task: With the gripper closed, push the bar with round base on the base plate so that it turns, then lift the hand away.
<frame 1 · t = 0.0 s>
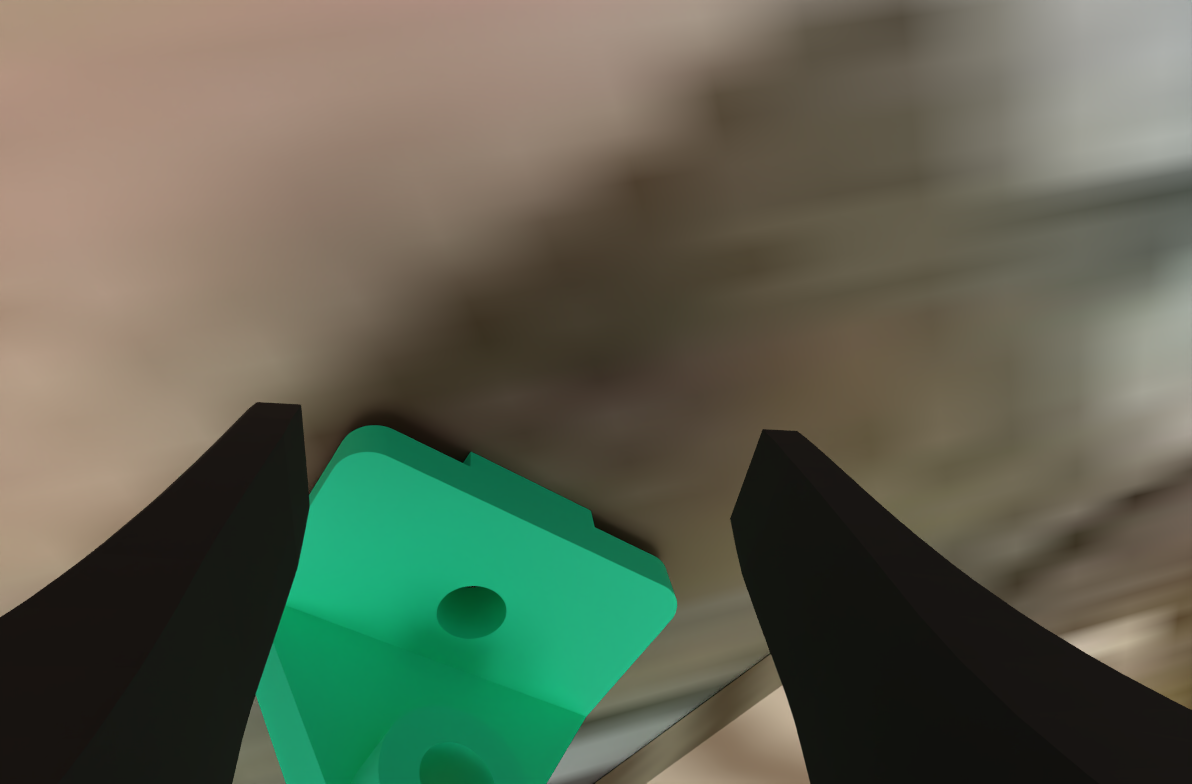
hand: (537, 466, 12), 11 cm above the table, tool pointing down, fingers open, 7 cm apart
camera mount: (472, 556, 26), on the table
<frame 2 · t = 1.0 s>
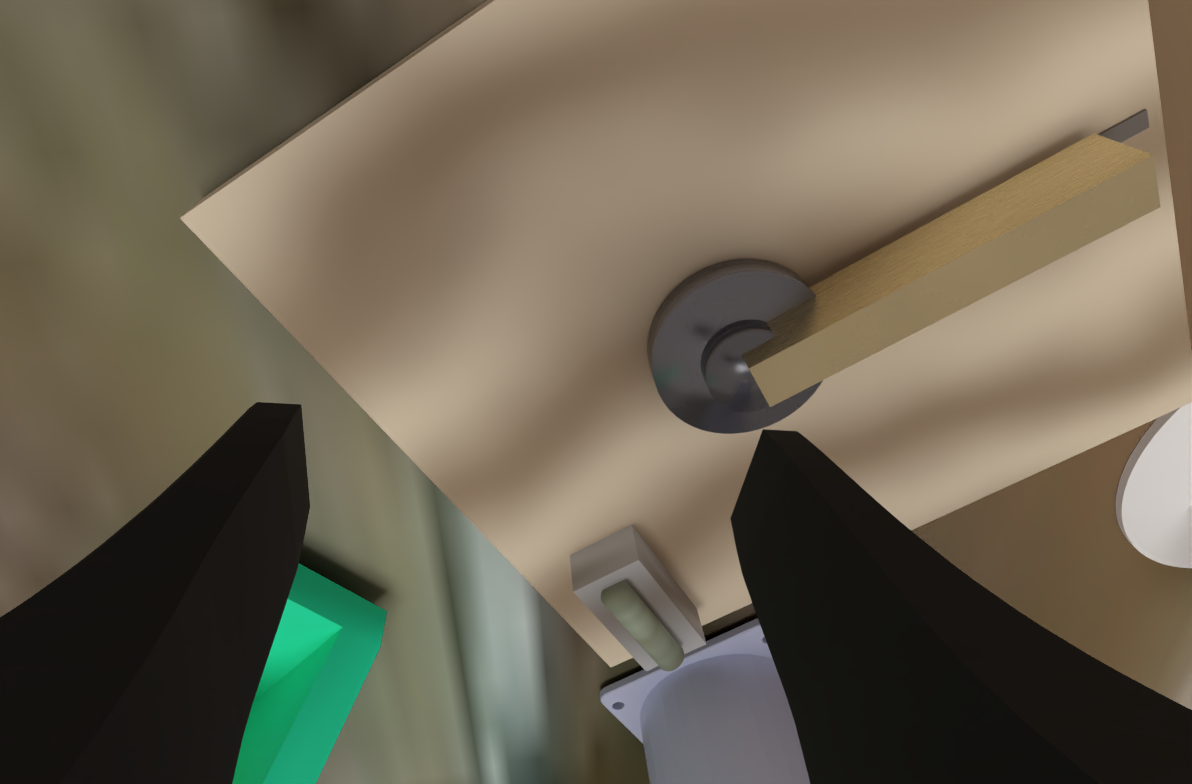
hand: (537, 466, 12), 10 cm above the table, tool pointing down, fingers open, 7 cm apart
base plate: (750, 299, 22), on the table
bar with round base: (876, 294, 19), point 3 cm above the table, hinge at 0.0°
camera mount: (207, 623, 28), on the table
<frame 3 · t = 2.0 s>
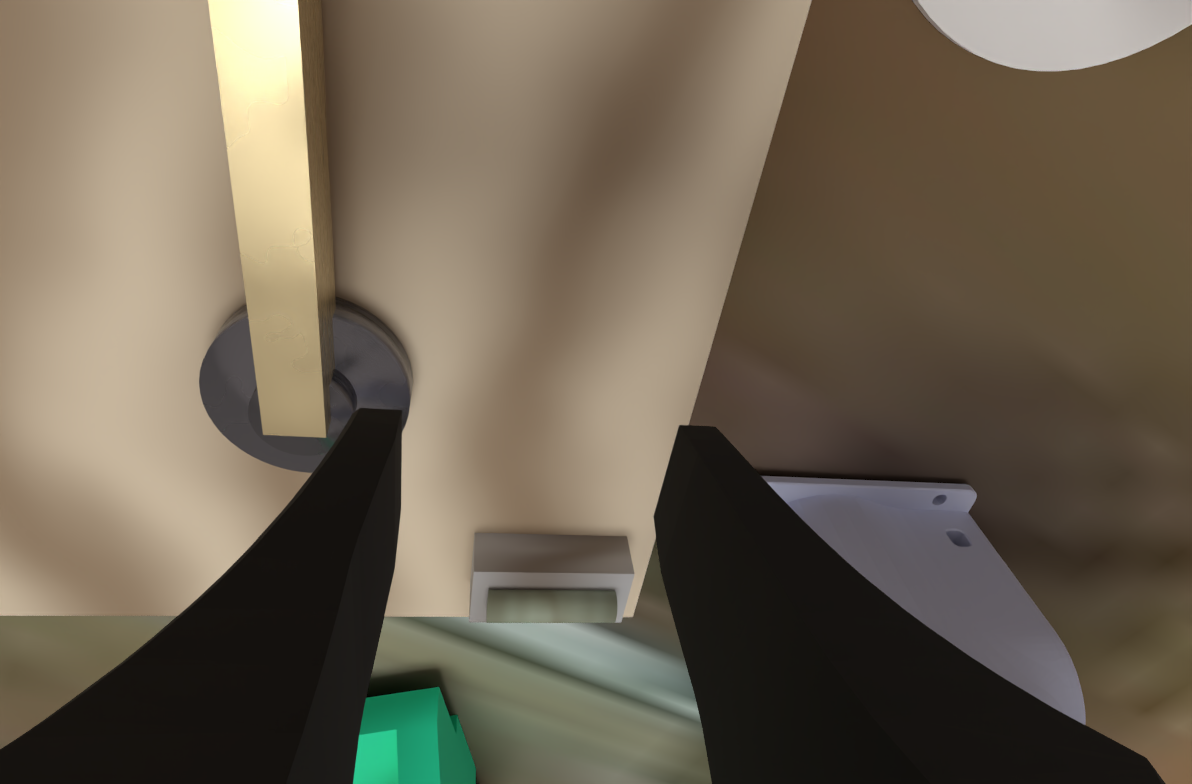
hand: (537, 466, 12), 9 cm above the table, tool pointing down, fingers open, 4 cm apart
base plate: (324, 312, 20), on the table
bar with round base: (294, 267, 16), point 3 cm above the table, hinge at 0.0°
camera mount: (383, 748, 34), on the table
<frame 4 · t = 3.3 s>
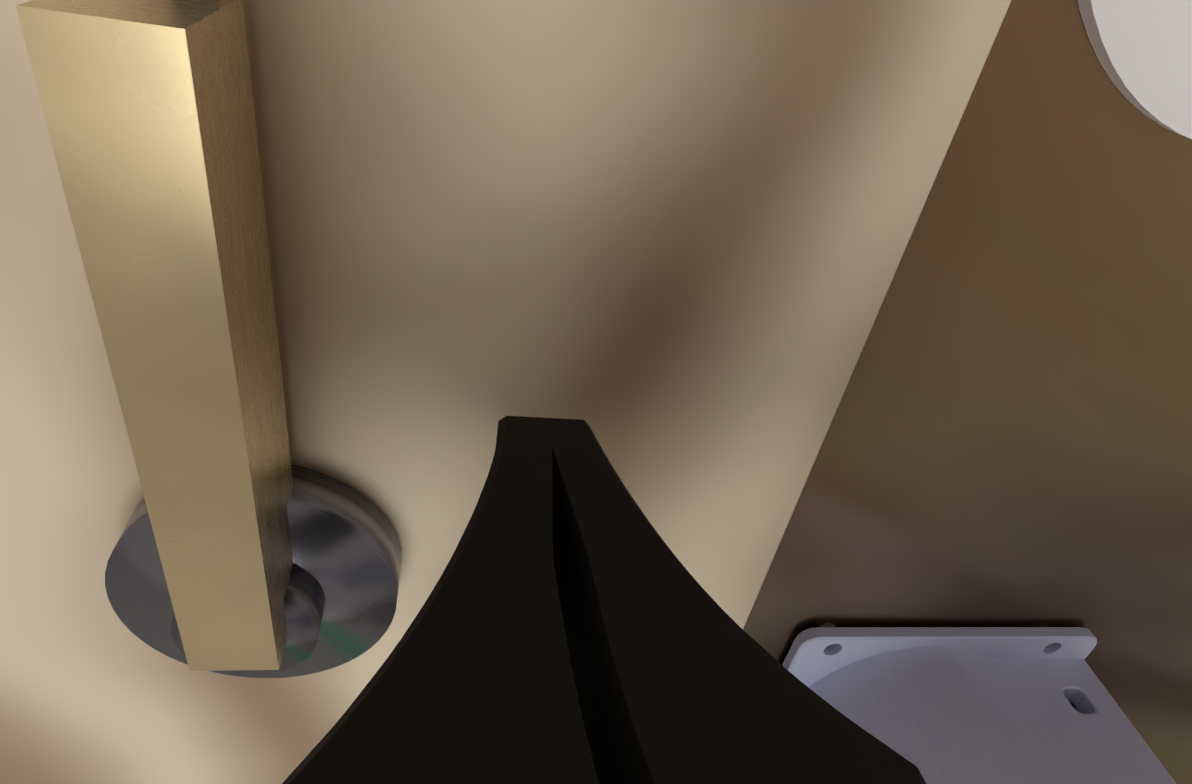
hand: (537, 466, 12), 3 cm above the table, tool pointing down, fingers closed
base plate: (284, 464, 15), on the table
bar with round base: (227, 451, 11), point 3 cm above the table, hinge at 0.0°
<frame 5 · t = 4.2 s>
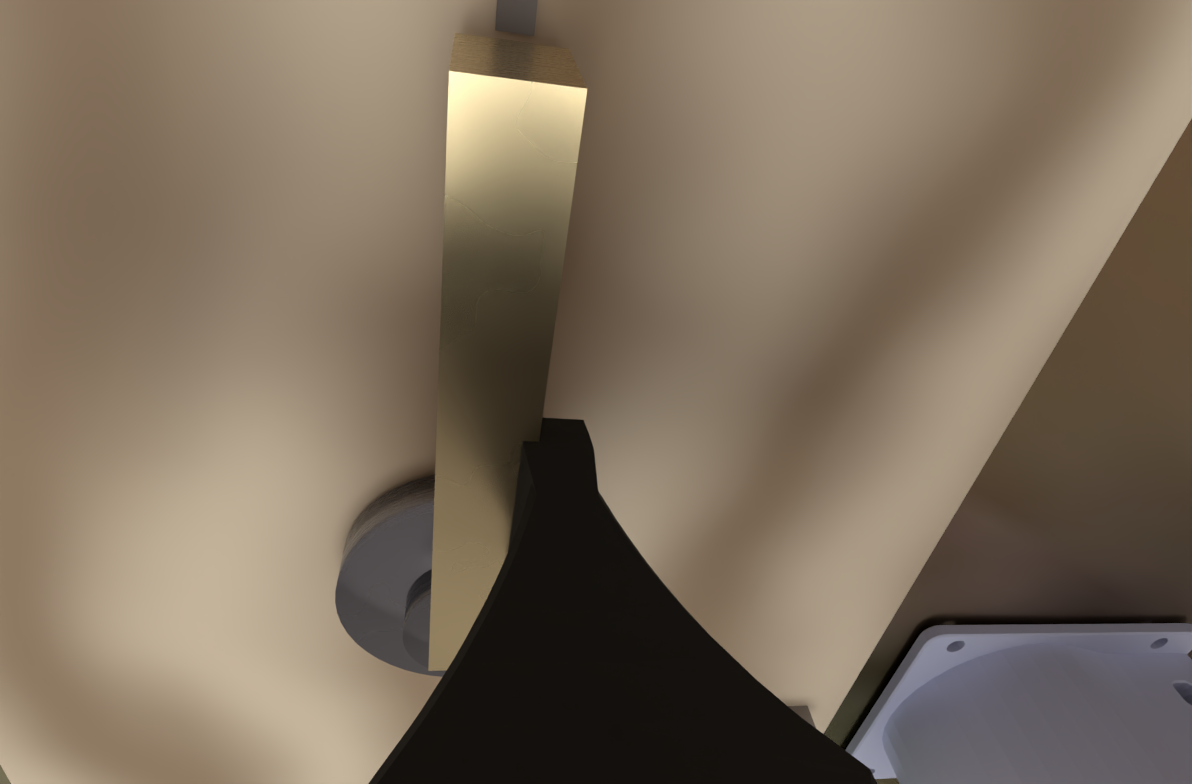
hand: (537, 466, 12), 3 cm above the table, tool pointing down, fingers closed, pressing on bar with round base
base plate: (474, 473, 16), on the table
bar with round base: (481, 464, 12), point 3 cm above the table, hinge at 0.3°, touching gripper
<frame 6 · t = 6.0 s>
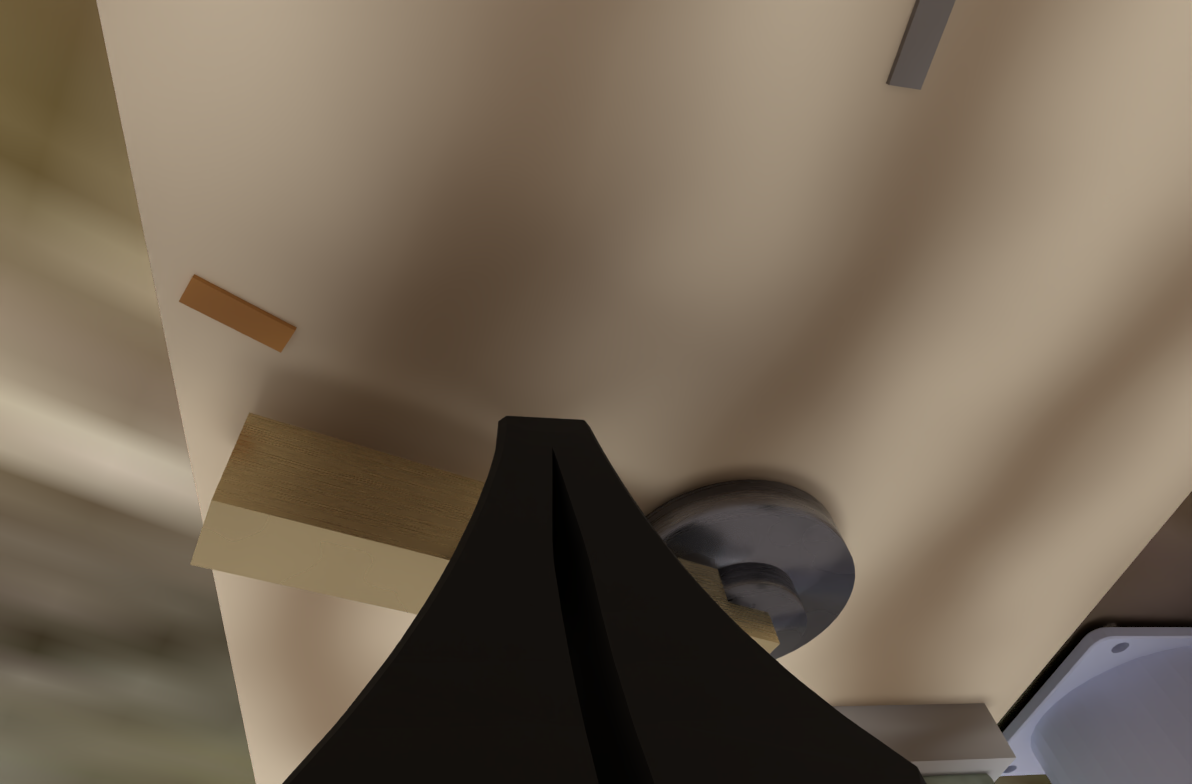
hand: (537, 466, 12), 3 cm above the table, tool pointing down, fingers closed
base plate: (717, 480, 17), on the table
bar with round base: (579, 568, 14), point 3 cm above the table, hinge at 70.9°
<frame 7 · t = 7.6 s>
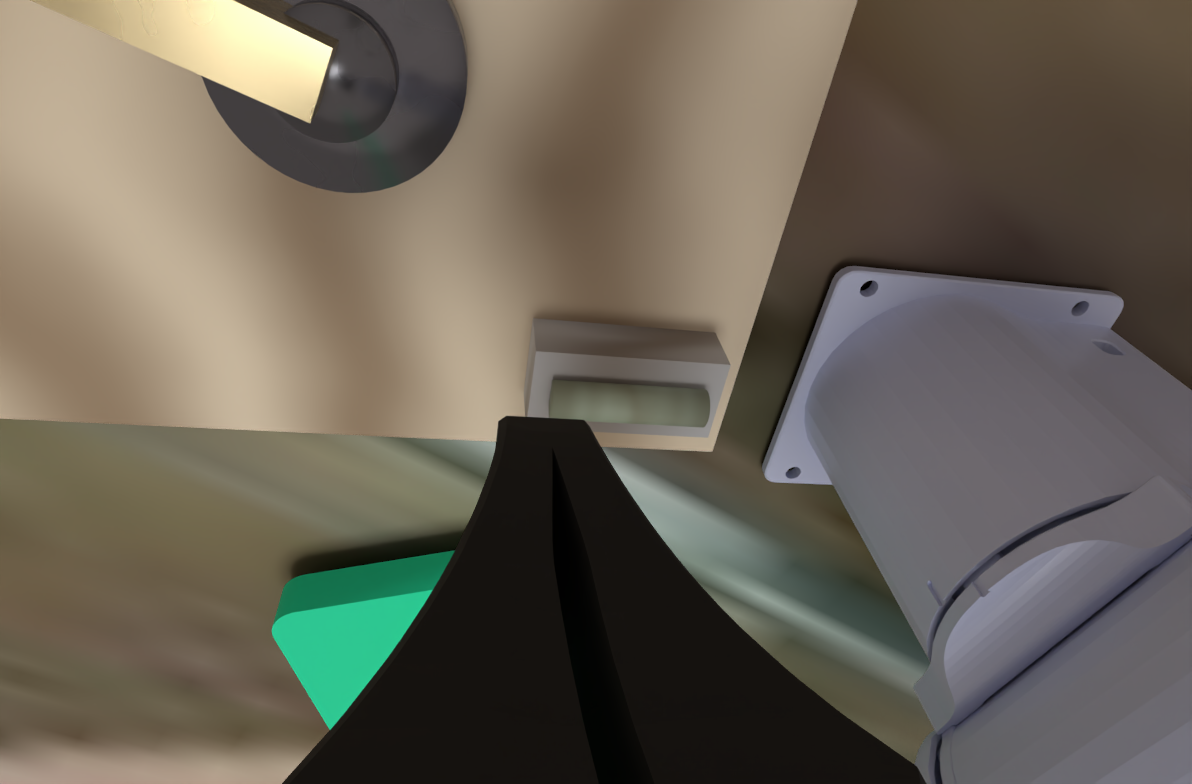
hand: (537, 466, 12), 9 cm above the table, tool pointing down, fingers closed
camera mount: (431, 635, 29), on the table
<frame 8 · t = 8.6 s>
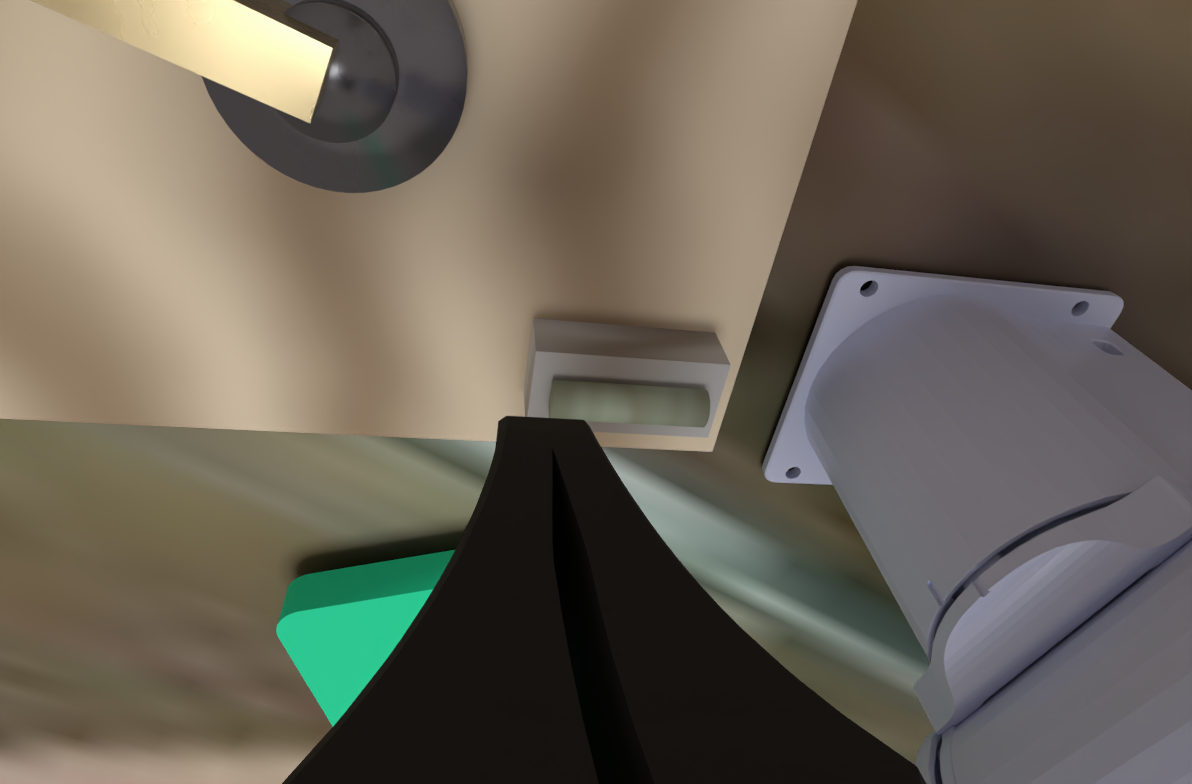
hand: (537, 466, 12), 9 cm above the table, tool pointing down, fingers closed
camera mount: (435, 635, 29), on the table
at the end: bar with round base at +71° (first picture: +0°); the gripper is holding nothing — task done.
